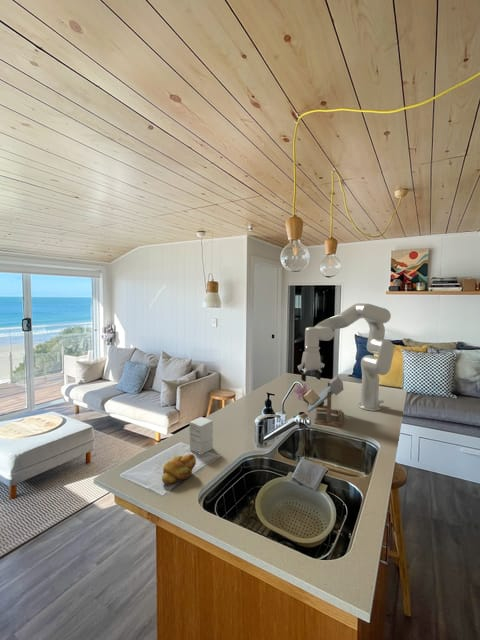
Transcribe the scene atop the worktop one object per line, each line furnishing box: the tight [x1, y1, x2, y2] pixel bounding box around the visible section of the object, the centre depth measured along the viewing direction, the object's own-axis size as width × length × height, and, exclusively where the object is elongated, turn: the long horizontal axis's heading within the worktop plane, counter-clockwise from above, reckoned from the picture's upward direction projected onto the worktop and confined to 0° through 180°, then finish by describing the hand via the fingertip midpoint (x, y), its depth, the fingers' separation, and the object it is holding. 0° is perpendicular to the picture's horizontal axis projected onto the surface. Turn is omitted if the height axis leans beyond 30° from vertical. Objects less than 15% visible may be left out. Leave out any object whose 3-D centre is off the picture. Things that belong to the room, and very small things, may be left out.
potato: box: [301, 391, 325, 407], centre depth 189 cm, size 8×13×8 cm, turn 49°
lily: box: [291, 382, 310, 401], centre depth 202 cm, size 12×12×10 cm
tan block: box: [303, 388, 320, 405], centre depth 172 cm, size 5×5×6 cm
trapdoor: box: [307, 375, 344, 414], centre depth 170 cm, size 22×16×4 cm
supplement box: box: [189, 416, 214, 455], centre depth 133 cm, size 7×7×13 cm
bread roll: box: [161, 453, 197, 485], centre depth 112 cm, size 13×10×8 cm
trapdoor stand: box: [314, 381, 344, 428], centre depth 169 cm, size 14×22×17 cm, turn 163°
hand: (311, 379), depth 171 cm, fingers open, 9 cm apart
